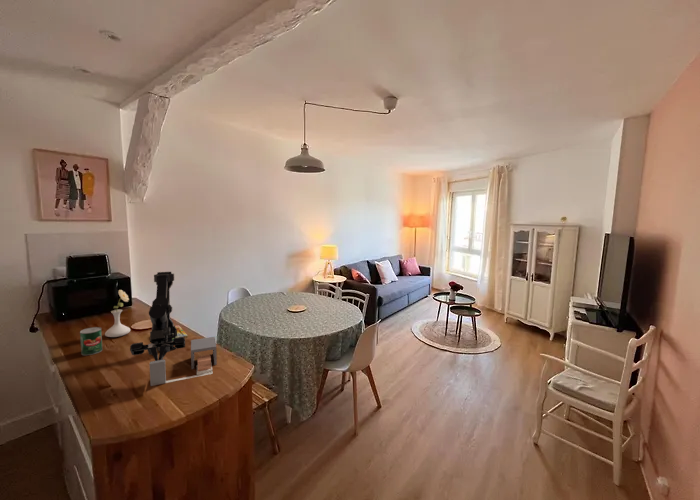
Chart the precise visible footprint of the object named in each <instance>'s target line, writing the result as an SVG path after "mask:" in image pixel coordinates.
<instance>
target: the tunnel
mask: <svg viewBox="0 0 700 500" xmlns="http://www.w3.org/2000/svg"><path fill="white" fill-rule="evenodd" d="M206 351H212V355H213V357H212V358H213V366H217V364H218V363H217V361H218V357H217V355H218V354H217V353H218V352H217V342H216V336H211V337H204V338H203V337H202V338H195V339H190V358H191V359H190V361H191V363H190V365H191V366H190V367H191V370H194V369H195V353H200V352H206Z"/></svg>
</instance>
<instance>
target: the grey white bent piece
mask: <svg viewBox="0 0 700 500" xmlns="http://www.w3.org/2000/svg"><path fill="white" fill-rule="evenodd" d="M212 363H213V362H212V361H211V369H208V370H202V371H198V364H196V375H195V374H194V375H191V376H189V375H188V376H184V377H180V378H175V379H168V380H167V374H166V373H167V372H166V371H167V370H166V359H164V358H163V360H158V361H155V360H153V361H150V362H149V381H150V383H149V384H150V387H153V386H158V385H163V384H164V385H165V384H168V383H173V382H178V381H183V380H189V379H192V378H198V377H203V376H208V375H213V364H212Z"/></svg>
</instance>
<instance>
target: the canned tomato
mask: <svg viewBox="0 0 700 500" xmlns="http://www.w3.org/2000/svg"><path fill="white" fill-rule="evenodd" d="M102 334H103V333H102V327H100V326H94V327H87V328H84V329H81V330H80V331H79V336H80V338H79V339H80V354H81V355H82V356H91V355H95V354H99V353H101V352H102V351H103V336H102Z"/></svg>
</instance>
